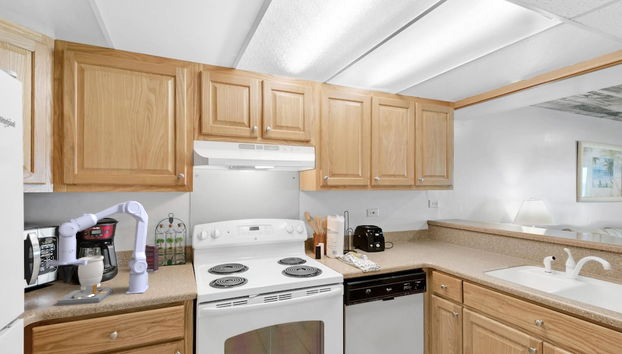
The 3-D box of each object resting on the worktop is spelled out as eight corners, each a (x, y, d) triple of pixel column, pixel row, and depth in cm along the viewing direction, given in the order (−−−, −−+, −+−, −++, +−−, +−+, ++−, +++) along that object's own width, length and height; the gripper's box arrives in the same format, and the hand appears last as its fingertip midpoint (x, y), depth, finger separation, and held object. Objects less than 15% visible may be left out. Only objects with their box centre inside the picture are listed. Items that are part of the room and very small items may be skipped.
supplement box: (158, 270, 180) (159, 244, 181) (154, 273, 175) (154, 246, 176) (145, 270, 181) (145, 244, 181) (140, 272, 176) (140, 245, 176)
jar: (104, 287, 150) (105, 257, 150) (78, 292, 143) (79, 261, 144) (101, 282, 158) (102, 254, 158) (76, 287, 151) (77, 257, 152)
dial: (68, 299, 132) (68, 287, 132) (85, 292, 140) (85, 281, 141) (87, 300, 131) (87, 288, 131) (103, 293, 140) (103, 281, 140)
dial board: (74, 294, 140) (74, 289, 140) (112, 292, 143) (112, 287, 144) (57, 305, 128) (57, 299, 128) (98, 302, 131) (98, 297, 131)
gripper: (41, 253, 123) (40, 286, 122) (81, 251, 126) (80, 284, 125) (52, 249, 130) (51, 281, 129) (90, 248, 132) (89, 279, 132)
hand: (66, 282), depth 128 cm, fingers closed
